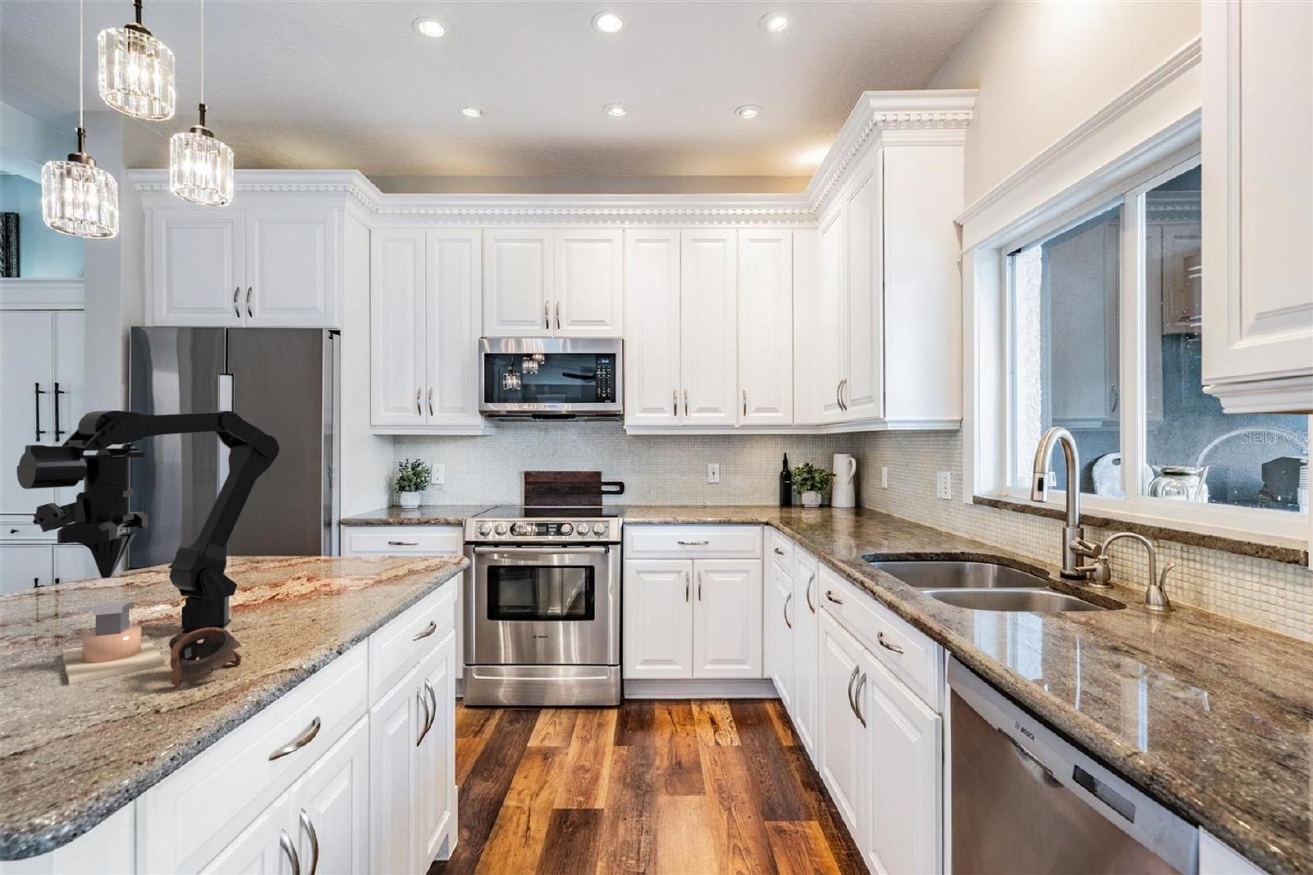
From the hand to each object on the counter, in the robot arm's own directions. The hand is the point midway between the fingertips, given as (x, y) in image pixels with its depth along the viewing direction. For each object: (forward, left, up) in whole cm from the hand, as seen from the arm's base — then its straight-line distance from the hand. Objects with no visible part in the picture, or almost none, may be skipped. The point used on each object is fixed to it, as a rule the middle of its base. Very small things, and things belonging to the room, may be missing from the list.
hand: (106, 577), depth 102 cm
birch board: (-2, +4, -13) cm, 14 cm away
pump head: (-1, +4, -8) cm, 9 cm away
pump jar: (-2, +4, -13) cm, 14 cm away
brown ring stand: (-18, +17, -13) cm, 28 cm away
